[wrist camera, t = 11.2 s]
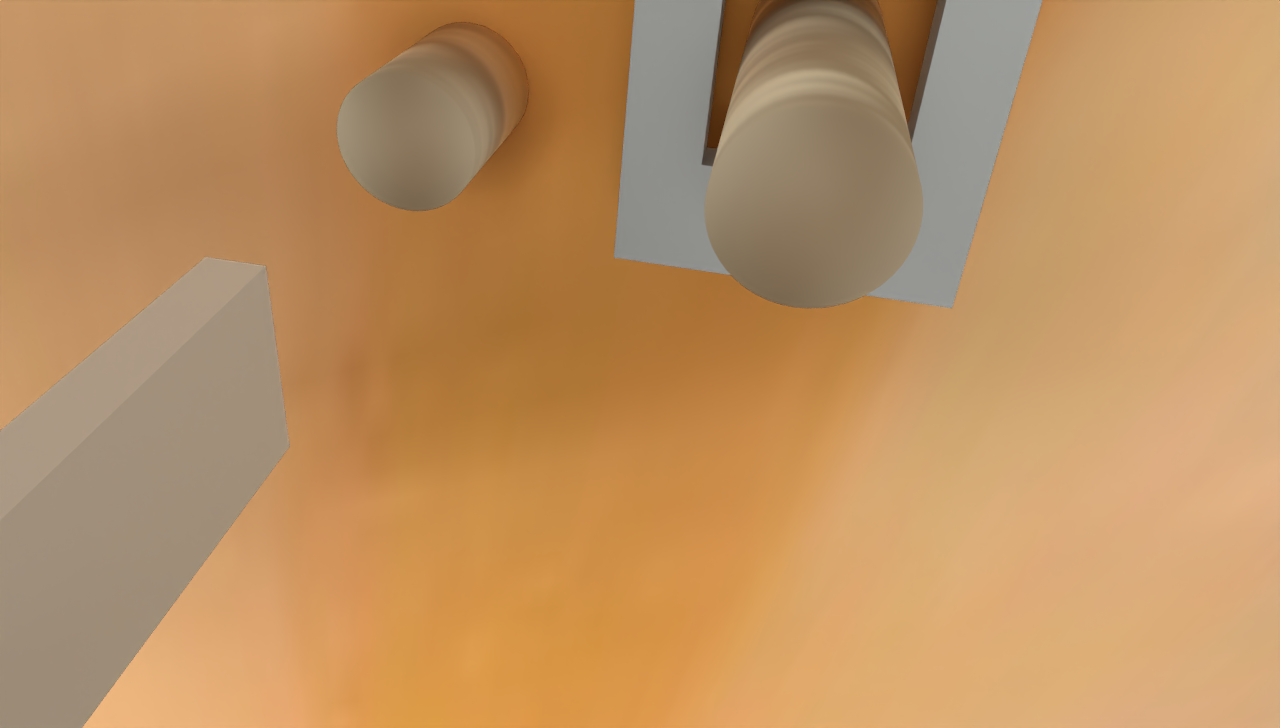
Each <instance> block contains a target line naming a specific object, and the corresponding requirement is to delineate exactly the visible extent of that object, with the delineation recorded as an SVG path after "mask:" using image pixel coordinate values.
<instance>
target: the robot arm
mask: <svg viewBox="0 0 1280 728" xmlns="http://www.w3.org/2000/svg"><path fill="white" fill-rule="evenodd" d="M289 447H290V445H289V437H288V429H287V422H286V414H285V407H284V399H283V391H282V384H281V376H280V368H279V361H278V353H277V346H276V338H275V330H274V323H273V315H272V307H271V300H270V292H269V284H268V277H267V269H266V266H265V265H258V264H251V263H244V262H237V261H230V260H224V259H217V258H210V257H205V258H204V259H203V260H201V261H200V262H199V263H198V264H197V265H195V266H194V267H193V268H192V269H191V270H190V271H188V272H187V273H186V274H185V275H184V276H182V277H181V278H180V279H179V280H178V281H177V282H175V283H174V284H173V285H172V286H171V287H169V288H168V289H167V290H166V291H165V292H164V293H162V294H161V295H160V296H159V297H158V298H156V299H155V300H154V301H153V302H152V303H151V304H149V305H148V306H147V307H146V308H145V309H143V310H142V311H141V312H140V313H139V314H138V315H136V316H135V317H134V318H133V319H132V320H130V321H129V322H128V323H127V324H126V325H125V326H123V327H122V328H121V329H120V330H119V331H117V332H116V333H115V334H114V335H113V336H112V337H110V338H109V339H108V340H107V341H106V342H105V343H103V344H102V345H101V346H100V347H99V348H97V349H96V350H95V351H94V352H93V353H92V354H90V355H89V356H88V357H87V358H86V359H84V360H83V361H82V362H81V363H80V364H79V365H77V366H76V367H75V368H74V369H73V370H71V371H70V372H69V373H68V374H67V375H66V376H64V377H63V378H62V379H61V380H60V381H58V382H57V383H56V384H55V385H54V386H53V387H51V388H50V389H49V390H48V391H47V392H45V393H44V394H43V395H42V396H41V397H40V398H38V399H37V400H36V401H35V402H34V403H32V404H31V405H30V406H29V407H28V408H27V409H25V410H24V411H23V412H22V413H21V414H19V415H18V416H17V417H16V418H15V419H14V420H12V421H11V422H10V423H9V424H8V425H6V426H5V427H4V428H3V429H2V430H1V431H0V728H82V727H83V726H84V724H85V723H86V722H87V720H88V719H89V718H90V716H91V715H92V714H93V712H94V711H95V710H96V708H97V707H98V705H99V704H100V703H101V701H102V700H103V699H104V697H105V696H106V695H107V693H108V692H109V691H110V689H111V688H112V686H113V685H114V684H115V682H116V681H117V680H118V678H119V677H120V676H121V674H122V673H123V672H124V670H125V669H126V668H127V666H128V665H129V663H130V662H131V661H132V659H133V658H134V657H135V655H136V654H137V653H138V651H139V650H140V649H141V647H142V646H143V645H144V643H145V642H146V640H147V639H148V638H149V636H150V635H151V634H152V632H153V631H154V630H155V628H156V627H157V626H158V624H159V623H160V622H161V620H162V619H163V617H164V616H165V615H166V613H167V612H168V611H169V609H170V608H171V607H172V605H173V604H174V603H175V601H176V600H177V598H178V597H179V596H180V594H181V593H182V592H183V590H184V589H185V588H186V586H187V585H188V584H189V582H190V581H191V580H192V578H193V577H194V575H195V574H196V573H197V571H198V570H199V569H200V567H201V566H202V565H203V563H204V562H205V561H206V559H207V558H208V557H209V555H210V554H211V552H212V551H213V550H214V548H215V547H216V546H217V544H218V543H219V542H220V540H221V539H222V538H223V536H224V535H225V533H226V532H227V531H228V529H229V528H230V527H231V525H232V524H233V523H234V521H235V520H236V519H237V517H238V516H239V515H240V513H241V512H242V510H243V509H244V508H245V506H246V505H247V504H248V502H249V501H250V500H251V498H252V497H253V496H254V494H255V493H256V492H257V490H258V489H259V487H260V486H261V485H262V483H263V482H264V481H265V479H266V478H267V477H268V475H269V474H270V473H271V471H272V470H273V468H274V467H275V466H276V464H277V463H278V462H279V460H280V459H281V458H282V456H283V455H284V454H285V452H286V451H287V450H288V448H289Z"/></svg>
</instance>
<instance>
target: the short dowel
mask: <svg viewBox="0 0 1280 728" xmlns="http://www.w3.org/2000/svg"><path fill="white" fill-rule="evenodd" d="M528 95H529V88H528V79H527V75H526V71H525V68H524V66H523V64H522V61H521V59H520V58H519V56H518V54H517V53H516V51H515V50H514V49H513V47H512V46H511V45H510V44H509V43H508V42H507V41H506V40H505V39H504V38H502V37H501V36H500V35H499V34H497V33H496V32H494V31H492V30H490V29H488V28H486V27H484V26H481V25H478V24H473V23H466V22H459V23H451V24H447V25H444V26H442V27H439V28H438V29H436V30H434V31H433V32H431V33H430V34H428V35H427V36H425V37H424V38H423V39H421V40H420V41H418V42H417V43H415V44H414V45H412V46H411V47H410V48H408V49H407V50H405V51H404V52H402V53H401V54H400V55H398V56H397V57H395V58H394V59H392V60H391V61H390V62H388V63H387V64H385V65H384V66H382V67H381V68H380V69H378V70H377V71H375V72H374V73H372V74H371V75H369V76H368V77H367V78H365V79H364V80H362V81H361V82H360V83H358V84H357V85H356V86H355V87H353V89H352V90H351V91H350V92H349V93H348V94H347V96H346V98H345V99H344V101H343V103H342V105H341V108H340V111H339V115H338V120H337V138H338V144H339V148H340V152H341V155H342V157H343V160H344V162H345V164H346V166H347V167H348V169H349V171H350V172H351V174H352V175H353V177H354V178H355V179H356V180H357V181H358V183H359V184H360V185H361V186H362V187H363V188H364V189H365V190H366V191H368V192H369V193H370V194H371V195H373V196H374V197H376V198H377V199H379V200H381V201H382V202H384V203H386V204H389V205H391V206H394V207H397V208H400V209H404V210H411V211H426V210H432V209H436V208H439V207H441V206H443V205H445V204H447V203H449V202H451V201H452V200H453V199H455V198H456V197H457V196H458V195H459V194H460V193H461V192H462V191H463V189H464V188H465V187H466V186H467V185H468V183H469V182H470V181H471V180H472V179H473V177H474V176H475V175H476V174H477V173H478V171H479V170H480V169H481V168H482V167H483V166H484V164H485V163H486V162H487V161H488V160H489V158H490V157H491V156H492V155H493V154H494V152H495V151H496V150H497V149H498V148H499V146H500V145H501V144H502V143H503V142H504V140H505V139H506V138H507V137H508V136H509V134H510V133H511V132H512V131H513V130H514V128H515V127H516V126H517V125H518V123H519V122H520V120H521V119H522V117H523V115H524V112H525V110H526V107H527V102H528Z"/></svg>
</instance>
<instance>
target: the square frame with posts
mask: <svg viewBox="0 0 1280 728" xmlns="http://www.w3.org/2000/svg"><path fill="white" fill-rule="evenodd" d="M725 2H726V0H635V7H634V19H633V32H632V44H631V56H630V68H629V81H628V93H627V105H626V117H625V130H624V142H623V154H622V166H621V179H620V191H619V203H618V215H617V228H616V240H615V252H614V258H620V259H627V260H633V261H640V262H647V263H653V264H660V265H667V266H673V267H680V268H687V269H693V270H700V271H707V272H713V273H720V274H727V275H730V274H729V272H728V271H727V270H726V269H725V268H724V266H723V265H722V264H721V262H720V261H719V259H718V257H717V256H716V254H715V252H714V250H713V248H712V245H711V243H710V240H709V237H708V233H707V229H706V224H705V213H704V208H705V196H706V191H707V186H708V182H709V179H710V175H711V171H712V167H713V164H714V160H715V156H716V153H717V148H709V147H707V142H708V134H709V127H710V119H711V111H712V103H713V96H714V88H715V80H716V72H717V64H718V57H719V49H720V41H721V33H722V26H723V18H724V10H725ZM1041 4H1042V0H937V4H936V9H935V13H934V17H933V21H932V25H931V30H930V34H929V38H928V42H927V46H926V50H925V55H924V59H923V63H922V67H921V71H920V76H919V80H918V84H917V88H916V92H915V96H914V101H913V105H912V109H911V113H910V117H909V122H908V130H909V134H910V139H911V143H912V148H913V152H914V156H915V161H916V165H917V169H918V174H919V178H920V183H921V187H922V195H923V217H922V222H921V228H920V231H919V234H918V237H917V240H916V243H915V245H914V247H913V249H912V251H911V253H910V254H909V256H908V257H907V259H906V260H905V262H904V263H903V265H902V266H901V267H900V268H899V269H898V270H897V271H896V273H895V274H894V275H893V276H892V277H891V278H889V279H888V280H887V281H886V282H885V283H884V284H882V285H881V286H880V287H878V288H877V289H875V290H874V291H872V292H870V293H868V294H867V296H874V297H880V298H887V299H894V300H900V301H907V302H914V303H920V304H927V305H934V306H940V307H947V308H952V307H953V303H954V300H955V297H956V293H957V290H958V286H959V283H960V279H961V276H962V273H963V269H964V266H965V262H966V259H967V256H968V252H969V249H970V245H971V242H972V239H973V235H974V232H975V228H976V225H977V222H978V218H979V215H980V211H981V208H982V205H983V201H984V198H985V194H986V191H987V188H988V184H989V181H990V177H991V174H992V171H993V167H994V164H995V160H996V157H997V154H998V150H999V147H1000V143H1001V140H1002V137H1003V133H1004V130H1005V126H1006V123H1007V120H1008V116H1009V113H1010V109H1011V106H1012V102H1013V99H1014V96H1015V92H1016V89H1017V85H1018V82H1019V79H1020V75H1021V72H1022V68H1023V65H1024V62H1025V58H1026V55H1027V51H1028V48H1029V45H1030V41H1031V38H1032V34H1033V31H1034V28H1035V24H1036V21H1037V17H1038V14H1039V11H1040V7H1041Z"/></svg>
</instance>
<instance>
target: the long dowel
mask: <svg viewBox="0 0 1280 728" xmlns="http://www.w3.org/2000/svg"><path fill="white" fill-rule="evenodd" d="M704 213H705V224H706V229H707V233H708V237H709V240H710V243H711V245H712V248H713V250H714V252H715V254H716V256H717V257H718V259H719V261H720V262H721V264H722V265H723V266H724V268H725V269H726V270H727V271H728V272H729V274H730V275H731V276H732V277H733V278H734V279H735V280H736V281H738V282H739V283H740V284H741V285H742V286H744V287H745V288H747V289H748V290H750V291H751V292H753V293H754V294H756V295H758V296H760V297H762V298H764V299H767V300H769V301H772V302H775V303H778V304H781V305H786V306H791V307H798V308H824V307H832V306H837V305H841V304H845V303H848V302H851V301H853V300H856V299H859V298H861V297H863V296H865V295H867V294H868V293H870V292H872V291H874V290H875V289H877V288H878V287H880V286H881V285H882V284H884V283H885V282H886V281H887V280H888V279H889V278H891V277H892V276H893V275H894V274H895V273H896V271H897V270H898V269H899V268H900V267H901V266H902V265H903V263H904V262H905V260H906V259H907V257H908V256H909V254H910V253H911V251H912V249H913V247H914V245H915V243H916V240H917V237H918V234H919V231H920V228H921V222H922V217H923V195H922V187H921V183H920V178H919V174H918V169H917V165H916V161H915V156H914V152H913V148H912V143H911V139H910V134H909V130H908V126H907V121H906V117H905V112H904V108H903V104H902V99H901V95H900V91H899V86H898V82H897V77H896V73H895V69H894V64H893V60H892V55H891V51H890V47H889V42H888V38H887V34H886V29H885V25H884V20H883V16H882V12H881V8H880V6H879V3H878V1H877V0H760V2H759V4H758V6H757V8H756V10H755V13H754V16H753V19H752V23H751V27H750V30H749V34H748V38H747V41H746V45H745V49H744V53H743V56H742V60H741V64H740V67H739V71H738V75H737V78H736V82H735V86H734V90H733V93H732V97H731V101H730V104H729V108H728V112H727V116H726V119H725V123H724V127H723V130H722V134H721V138H720V142H719V145H718V149H717V153H716V156H715V160H714V164H713V167H712V171H711V175H710V179H709V182H708V186H707V191H706V196H705V208H704Z"/></svg>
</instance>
